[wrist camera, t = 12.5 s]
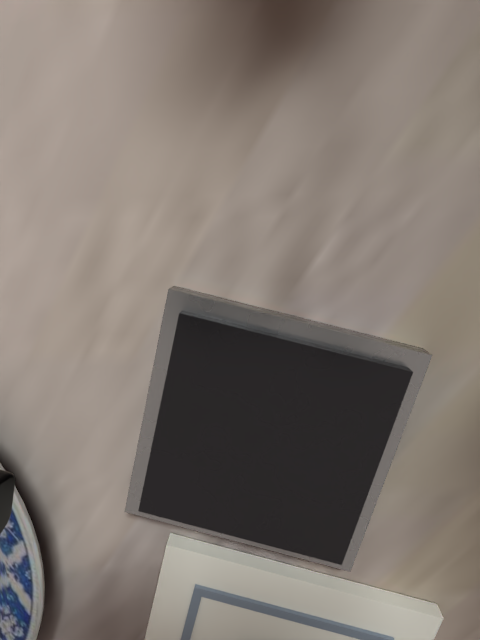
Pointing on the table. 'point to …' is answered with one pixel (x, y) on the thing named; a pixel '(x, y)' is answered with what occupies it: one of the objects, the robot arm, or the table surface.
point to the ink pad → (270, 427)
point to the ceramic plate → (20, 576)
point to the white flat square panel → (273, 601)
